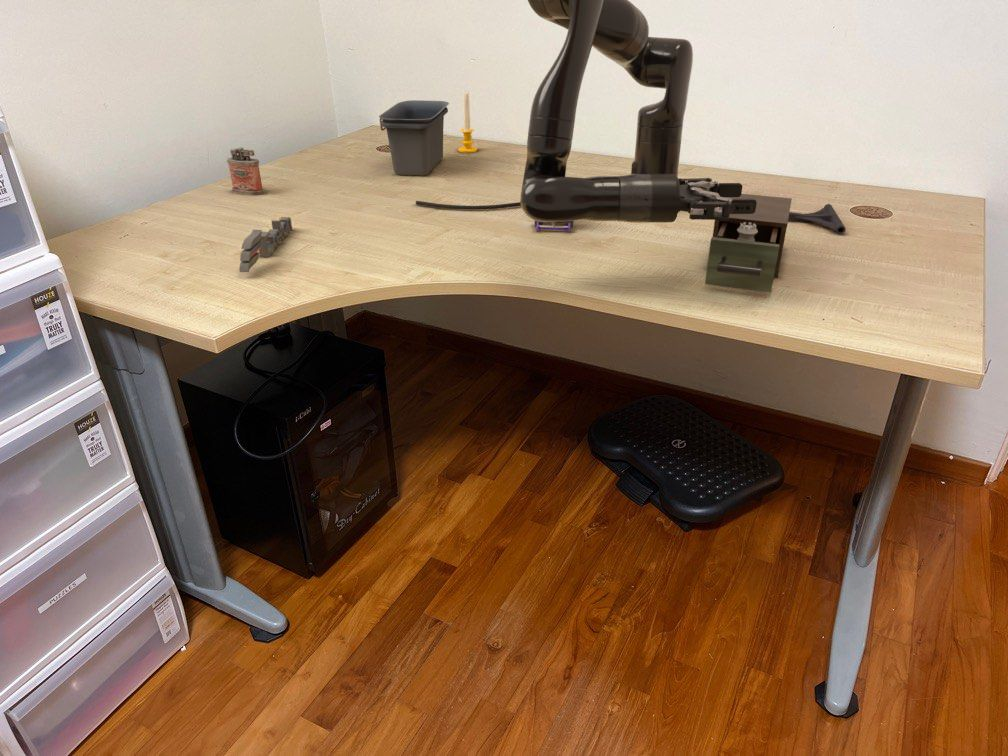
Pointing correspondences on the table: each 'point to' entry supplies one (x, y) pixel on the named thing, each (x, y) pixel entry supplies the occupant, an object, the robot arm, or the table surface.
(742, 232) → the rook chess piece
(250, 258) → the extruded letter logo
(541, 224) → the toy race car
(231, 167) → the lighter
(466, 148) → the candle
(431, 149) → the storage bin
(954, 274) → the table surface
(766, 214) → the cabinet
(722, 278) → the drawer
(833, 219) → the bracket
